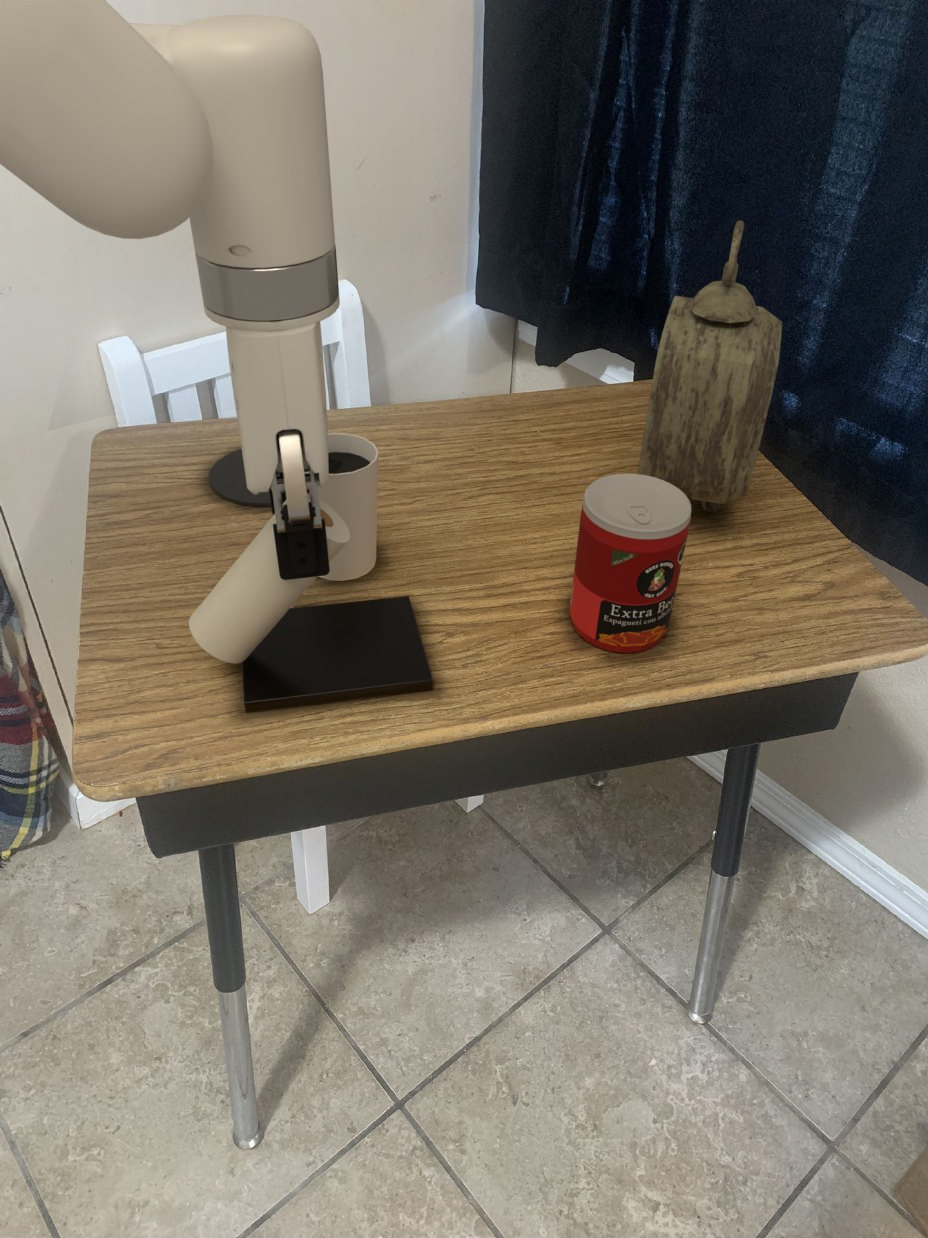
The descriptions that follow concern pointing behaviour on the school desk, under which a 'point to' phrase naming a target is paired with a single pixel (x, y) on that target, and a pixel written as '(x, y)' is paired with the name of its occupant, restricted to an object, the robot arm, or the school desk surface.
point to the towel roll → (255, 594)
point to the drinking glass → (352, 502)
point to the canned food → (628, 561)
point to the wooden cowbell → (711, 390)
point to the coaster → (235, 482)
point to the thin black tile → (337, 656)
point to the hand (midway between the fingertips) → (301, 548)
